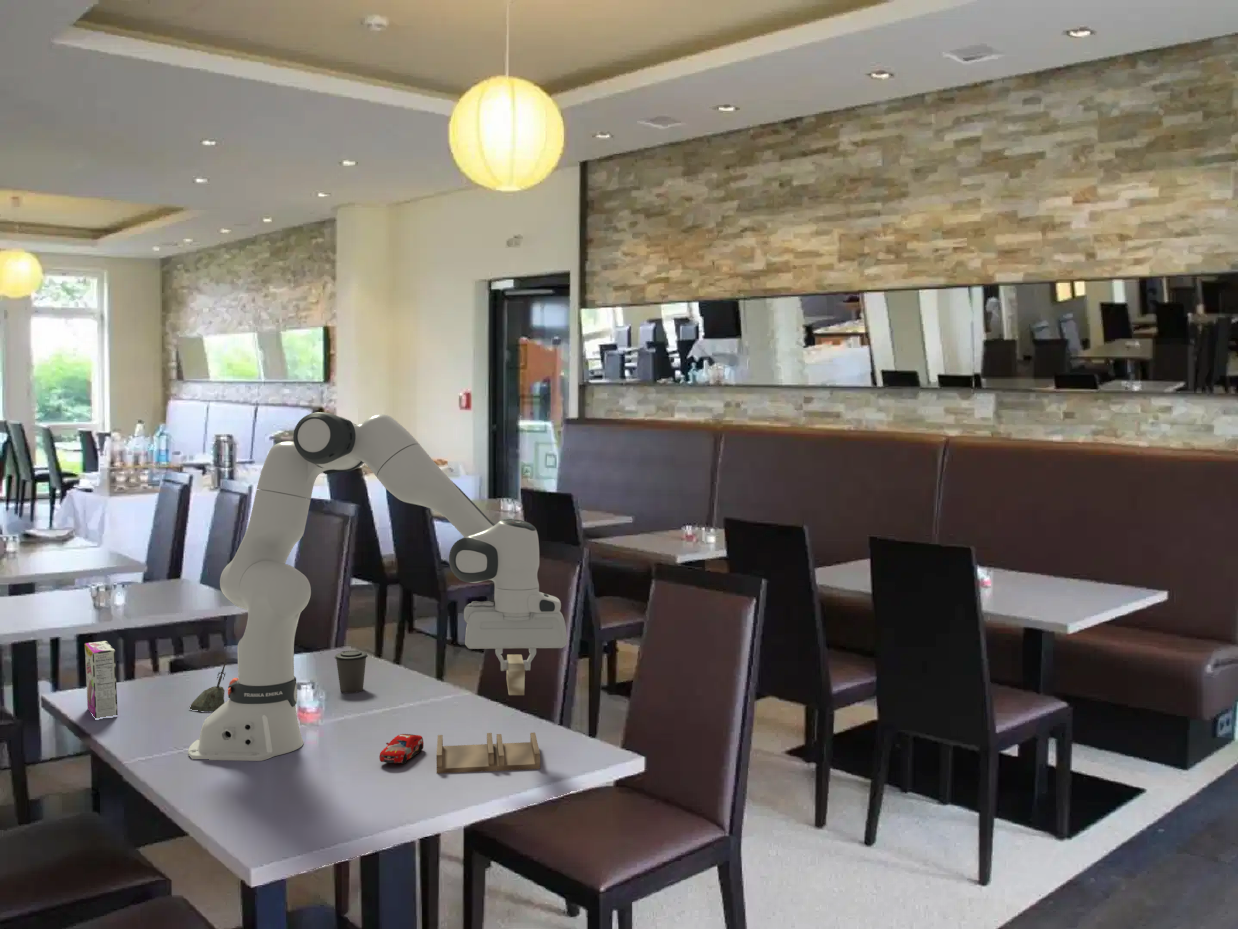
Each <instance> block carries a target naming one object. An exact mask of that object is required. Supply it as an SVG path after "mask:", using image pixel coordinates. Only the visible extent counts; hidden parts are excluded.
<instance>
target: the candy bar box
mask: <svg viewBox="0 0 1238 929" xmlns="http://www.w3.org/2000/svg"><path fill="white" fill-rule="evenodd" d="M84 655H85V656H84V657H85V677H86V680H85V681H86V683H85V684H86V699H87V700H86V701H87V703H86V704H87V710H88V709H89V711H90V712H91V713H92V714H93V716H94V717H95V718H100V717H106V716H113V715H118V690H117V689H118V688H117V668H116V650H115V649H114V648H113V646H111V644H110V643H109V642H108V641H107V640H102V641H94V642H85V643H84ZM89 711H88V712H89Z"/></svg>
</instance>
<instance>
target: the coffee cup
mask: <svg viewBox="0 0 1238 929" xmlns="http://www.w3.org/2000/svg"><path fill="white" fill-rule="evenodd" d="M368 657H369V655H368V654H367V653H366V651H360V650H346V651H344V650H343V651H341V652H340V653H337V654H335V656H334V659H335V660H336V661H335V662H336V668H337V674H338V675H337V676H338V683H339V690H340V692H341V693H346V694H353V693H359V692H362V691H363V690H364V683H365V675H366V674H365V672H366V663H367V658H368Z"/></svg>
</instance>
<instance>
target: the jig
mask: <svg viewBox="0 0 1238 929" xmlns="http://www.w3.org/2000/svg"><path fill="white" fill-rule="evenodd" d="M529 734H530V737H529V740H530V741H525V742H508V743H507V742H505V743H504V742H503V738H502V737H503V736H502V734H501V733H497V734H496V743H494V742H493V733H492V732H486V743H484V744H483V743H481V744H461V745H459V744H458V745H444V738H443V737H444V735H443V734H438V735H437V743H436V758H435V759H436V774H449V773H451V774H453V773H456V774H457V773H476V772H477V773H479V772H499V771H500V772H501V771H502V772H503V771H522V770H524V771H525V770H527V771H528V770H540V769H541V753H540V748H539V743H538V739H537V734H536V732H530V733H529Z"/></svg>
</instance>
